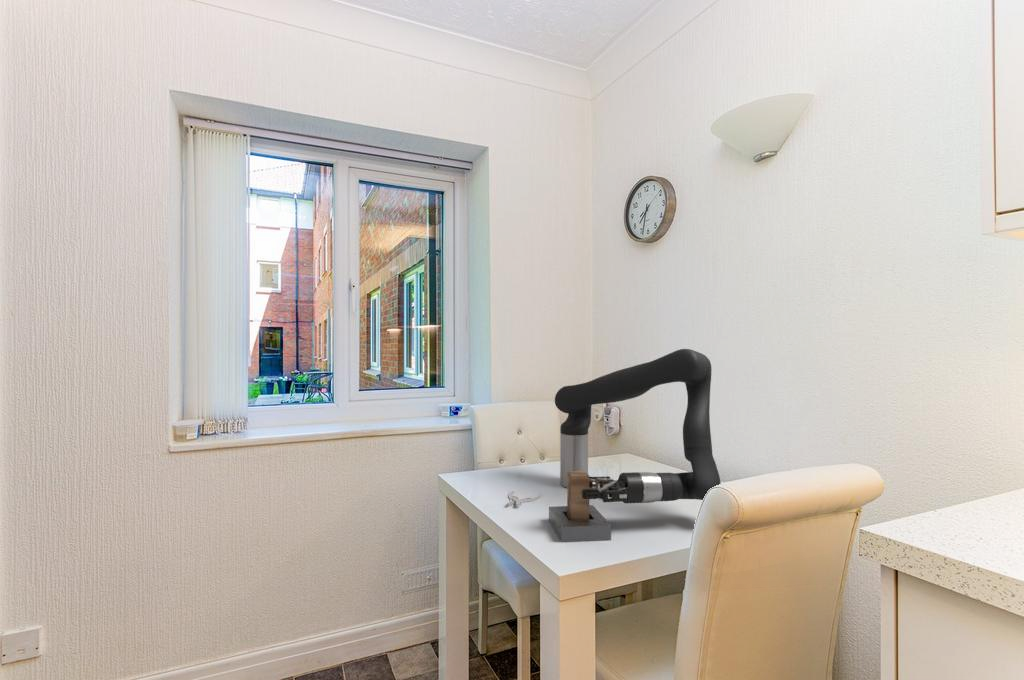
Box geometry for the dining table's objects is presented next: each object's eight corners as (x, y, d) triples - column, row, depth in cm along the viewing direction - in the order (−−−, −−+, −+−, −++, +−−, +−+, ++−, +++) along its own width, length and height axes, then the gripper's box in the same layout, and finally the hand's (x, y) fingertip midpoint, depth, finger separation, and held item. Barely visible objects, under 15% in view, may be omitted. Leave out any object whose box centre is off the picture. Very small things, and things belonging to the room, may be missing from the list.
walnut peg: (567, 526, 124) (567, 471, 124) (584, 525, 124) (584, 470, 125) (571, 533, 119) (571, 475, 120) (589, 532, 120) (589, 475, 120)
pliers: (542, 491, 151) (528, 505, 136) (542, 496, 151) (528, 511, 136) (512, 488, 154) (495, 502, 140) (512, 493, 154) (495, 507, 140)
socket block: (548, 520, 128) (548, 506, 128) (592, 518, 130) (592, 505, 130) (561, 542, 113) (561, 527, 114) (611, 540, 115) (611, 525, 115)
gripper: (629, 466, 131) (571, 467, 129) (651, 480, 117) (585, 481, 115) (629, 494, 131) (571, 496, 129) (651, 511, 117) (585, 513, 115)
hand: (577, 489), depth 122 cm, fingers open, 8 cm apart
